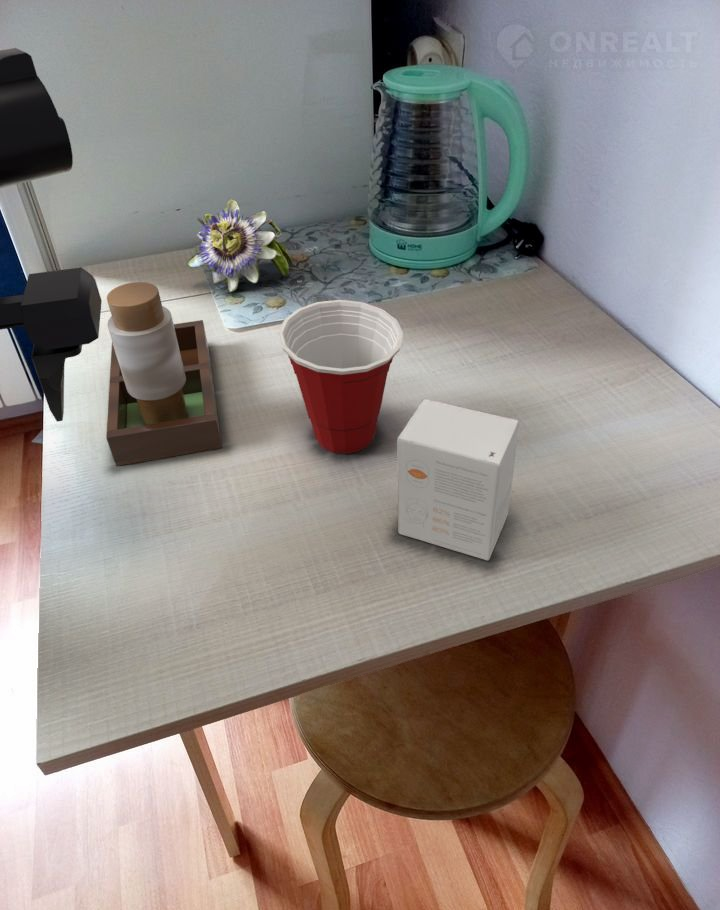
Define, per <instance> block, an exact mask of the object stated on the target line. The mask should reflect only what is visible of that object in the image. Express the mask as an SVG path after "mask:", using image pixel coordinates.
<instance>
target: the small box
mask: <svg viewBox="0 0 720 910" xmlns="http://www.w3.org/2000/svg"><path fill="white" fill-rule="evenodd" d="M519 429H520V420H518V419H513V418H509V417H505V416H501V415H497V414H494V413H493V414H492V413H487V412H483V411H478V410H474V409H470V408H465V407H463V406H462V407H461V406H459V405H457V406H456V405H454V404H449V403H444V402H440V401H436V400H432V399H427V398H423V400H421V402H420V404H419V406H417V408H416V409H415V411H414V413H413V415H412V416H411V417H410V419H409V420H408V422H407V423H406V425H405V427H404V428H403V429H402V431H401V432H400V434H399V435H398V436H397V439H396V451H397V452H396V453H397V454H396V459H397V462H396V463H397V469H396V470H397V531H398V534H399V535H402V536H405V537H408V538H412V539H416V540H418V541H422V542H425V543H428V544H431V545H435V546H439V547H440V548H441V547H442V548H445V549H448V550H451V551H454V552H457V553H461V554H465V555H468V556H471V557H475V558H478V559H481V560H484V561H490V559H491V556H492V554H493V552H494V549H495V547H496V544H497V542H498V540H499V538H500V535H501V532H502V530H503V528H504V525H505V523H506V520H507V518H508V515H509V509H510V500H511V492H512V487H513V486H512V485H513V477H514V469H515V463H516V462H515V461H516V452H517V446H518V440H519V438H518V437H519Z"/></svg>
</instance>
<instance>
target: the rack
mask: <svg viewBox="0 0 720 910" xmlns="http://www.w3.org/2000/svg"><path fill="white" fill-rule="evenodd" d="M173 324H174V328H175V333H176V337H177V341H178V346H179V350H180V354H181V358H182V363H183V367H184V371H185V375H186V382H185V384H184V386H183V387H182V390H183V394H184V398H185V403H186V407H187V411H188V415H189V418H185V419H179V420H173V421H167V422H161V423H155V424H149V425H144V423H143V419H142V416H141V413H140V409H139V406H138V403H137V399H136V398H134V397H132V396H131V395H130V394H129V393H128V391H127V389H126V385H125V382H124V379H123V376H122V372H121V369H120V366H119V363H118V359H117V356H116V353H115V349H114V346H113V343H112V342H111V351H110V369H109V385H108V403H107V421H106V434H105V435H106V436H105V439H106V441H107V444H108V447H109V450H110V453H111V456H112V459H113V462H114V464H115V467H120V466H126V465H131V464H138V463H143V462H149V461H154V460H159V459H166V458H172V457H178V456H182V455H190V454H195V453H200V452H206V451H212V450H217V449H222V448H223V443H222V437H221V429H220V428H221V427H220V421H219V414H218V407H217V400H216V394H215V385H214V378H213V372H212V370H213V369H212V364H211V356H210V350H209V343H208V338H207V333H206V329H205V323H204V320H203V319H200V320H193V321H186V322H180V323H173Z"/></svg>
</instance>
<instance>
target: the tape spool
mask: <svg viewBox="0 0 720 910" xmlns="http://www.w3.org/2000/svg"><path fill="white" fill-rule="evenodd" d="M106 301H107V305H108V308H109V312H110V315H111V316H110V317H109V319H108V320H107V324H106V325H107V330H108V333H109V336H110V339H111V344H112V343H113V346H114V349H115V353H116V356H117V359H118V363H119V366H120V369H121V372H122V376H123V379H124V382H125V385H126V389H127V391H128V393H129V394H130V395H131V396H132V397H134V398H136V399H137V403H138V406H139V409H140V413H141V416H142V419H143V423H144V425H149V424H155V423H161V422H167V421H173V420H179V419H185V418H189V415H188V411H187V407H186V403H185V398H184V394H183V390H182V387H183V386H184V384H185V382H186V375H185V371H184V367H183V363H182V358H181V354H180V350H179V346H178V341H177V337H176V333H175V328H174V324H175V323H174V321H173V316H172V312H171V311H170V309H168V308H167V307H165V306H163V303H162V299H161V295H160V292H159V288H158V287H157V286H156V285H155V284H154V283H150V282H145V281H134V282H128V283H124V284H121V285H119V286H116V287H114V288H113V289H111V290H110V291H109V292H108V293H107V295H106Z"/></svg>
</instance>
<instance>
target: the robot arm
mask: <svg viewBox="0 0 720 910" xmlns="http://www.w3.org/2000/svg"><path fill="white" fill-rule="evenodd" d="M72 149H73V148H72V143H71V140H70V135H69V131H68V129H67V125H66V123H65V120H64V118H63V117H61V116H59V113H58V111H57V108H56V106H55V104H54V101H53V100H52V97H51V95H50V93H49V92H48V90H47V88H46V86H45V84H44V83H43V81H42V80H41V78H40V77H39V76H38V73H37V71H36V67H35V63H34V61H33V57H32V55H30V54H29V53H28V52H26V51H24V50H22V49H19V48H17V47H12V48H7V49H2V50H0V189H3V188H8V187H11V186H16V185H19V184H25V183H28V182H33V181H35V180H39V179H43V178H47V177H51V176H55V175H59V174H63V173H68V172H70V171H71V170H72V168H73V164H74V160H73V159H74V157H73V155H74V154H73V150H72ZM101 312H102V297H101V294H100V290H99V287H98V285H97V281H96V278H95V277H94V276H93V275H92V273H90V272H89V271H87V270H86V269H84V268H83V267H73V268H65V269H57V270H50V271H42V272H35V273H33V272H32V273H29V274H28V276H27V280H26V284H25V287H24V291H23V294H19V295H18V294H17V295H12V296H11V295H10V296H4V297H3V296H2V297H0V331H1V330H7V329H14V328H15V329H16V328H21V327H23V328H24V331H25V333H26V335H27V339H28V340H29V342H30V343H33V346H32V347H33V348H32V351H31V360H32V363H33V366H34V369H35V372H36V375H37V377H38V381H39V383H40V386H41V389H42V392H43V394H44V397H45V400H46V403H47V406H48V410H49V411H50V413H51V414H52V417H53V418H54V419H55V421H56V422H57V423H58V422H63V420H64V414H65V412H64V411H65V362H66V359H68V358H74V357H76V356H78V355H80V354H81V353H82V350H83V346H84V345H90V344H92V343H93V342H94V341H96V340H97V339H99V337H100V324H101V314H102V313H101Z"/></svg>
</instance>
